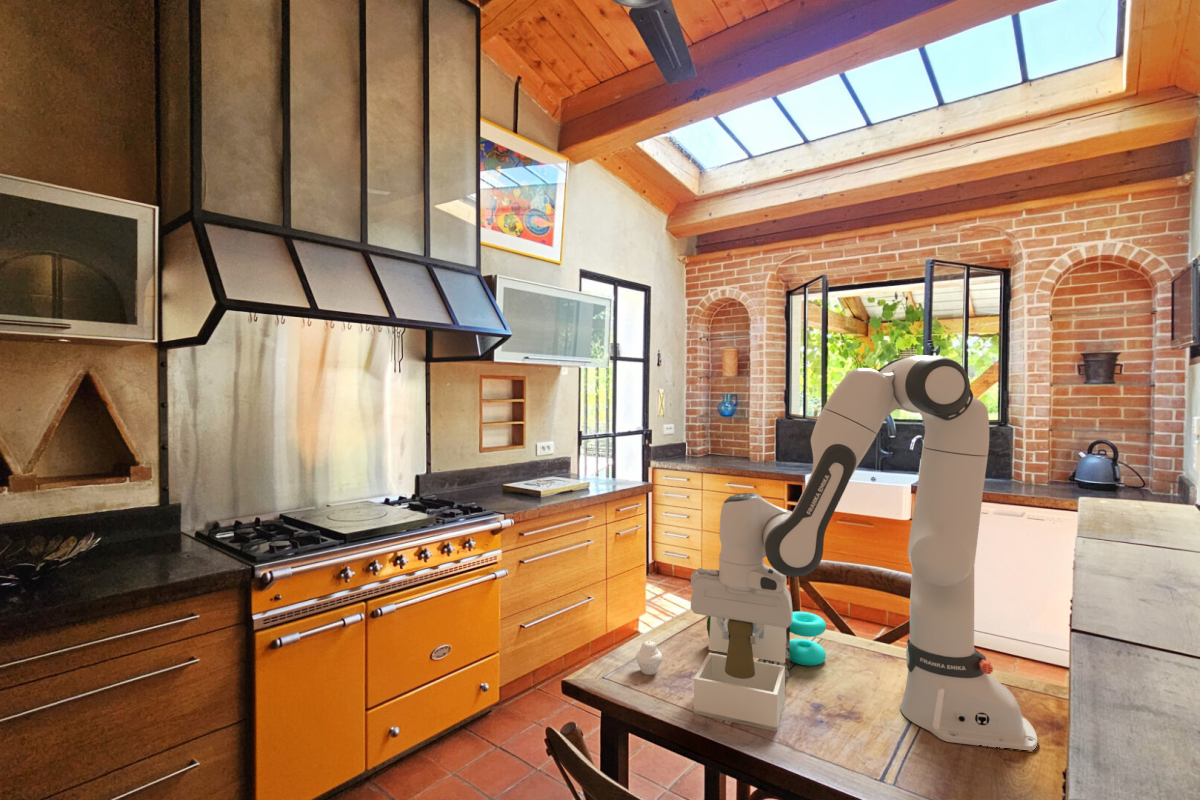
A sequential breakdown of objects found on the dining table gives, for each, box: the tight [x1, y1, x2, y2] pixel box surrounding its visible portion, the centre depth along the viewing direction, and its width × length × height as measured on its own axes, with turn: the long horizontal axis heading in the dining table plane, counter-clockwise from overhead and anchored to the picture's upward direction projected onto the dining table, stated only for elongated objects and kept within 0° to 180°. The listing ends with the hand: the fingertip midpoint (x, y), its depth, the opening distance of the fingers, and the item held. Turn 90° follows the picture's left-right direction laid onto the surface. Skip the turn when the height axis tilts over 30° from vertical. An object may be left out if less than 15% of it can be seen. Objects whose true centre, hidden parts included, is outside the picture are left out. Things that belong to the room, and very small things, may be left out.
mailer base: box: [693, 652, 786, 733], centre depth 121 cm, size 16×13×7 cm
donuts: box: [790, 611, 827, 666], centre depth 143 cm, size 10×10×10 cm
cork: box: [725, 619, 755, 679], centre depth 121 cm, size 6×6×11 cm
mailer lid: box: [708, 616, 786, 663], centre depth 128 cm, size 16×13×1 cm
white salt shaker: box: [635, 640, 663, 676], centre depth 136 cm, size 6×6×7 cm
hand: (740, 640), depth 121 cm, fingers closed on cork, 4 cm apart
